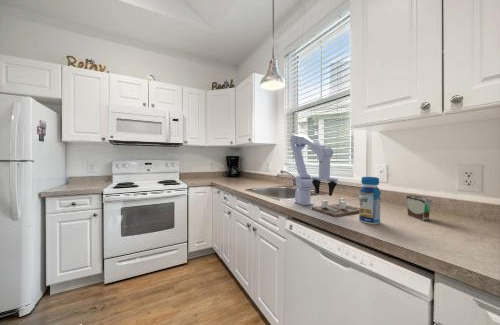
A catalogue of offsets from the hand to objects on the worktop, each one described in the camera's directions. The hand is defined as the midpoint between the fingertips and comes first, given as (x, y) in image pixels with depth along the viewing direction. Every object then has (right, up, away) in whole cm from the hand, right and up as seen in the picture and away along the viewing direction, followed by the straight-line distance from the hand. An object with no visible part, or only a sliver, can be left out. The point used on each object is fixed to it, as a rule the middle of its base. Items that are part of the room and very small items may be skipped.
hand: (323, 194), depth 112 cm
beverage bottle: (+13, -9, -20) cm, 26 cm away
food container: (+42, -9, -14) cm, 45 cm away
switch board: (+7, -9, -1) cm, 11 cm away
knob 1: (0, -7, -1) cm, 7 cm away
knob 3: (+9, -7, -3) cm, 11 cm away
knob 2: (+12, -7, +5) cm, 14 cm away
